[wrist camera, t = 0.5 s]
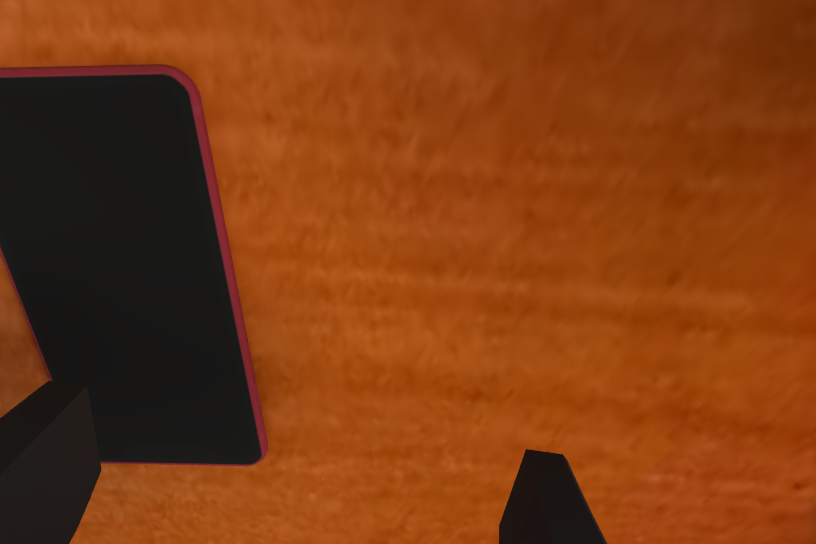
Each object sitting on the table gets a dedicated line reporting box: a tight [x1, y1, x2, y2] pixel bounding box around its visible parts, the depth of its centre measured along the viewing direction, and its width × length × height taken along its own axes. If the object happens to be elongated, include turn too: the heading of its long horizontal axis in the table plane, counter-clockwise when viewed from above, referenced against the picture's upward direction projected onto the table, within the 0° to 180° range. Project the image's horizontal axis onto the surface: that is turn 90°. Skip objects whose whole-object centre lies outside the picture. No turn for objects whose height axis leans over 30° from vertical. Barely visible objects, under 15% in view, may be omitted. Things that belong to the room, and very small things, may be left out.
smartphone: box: [0, 65, 268, 466], centre depth 23 cm, size 7×1×15 cm
